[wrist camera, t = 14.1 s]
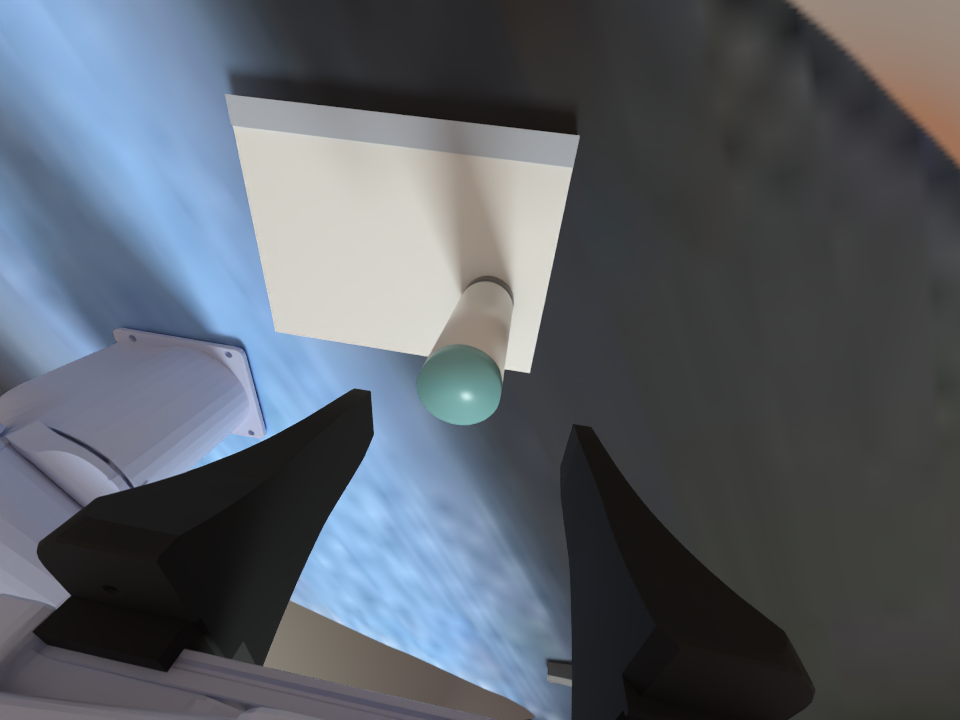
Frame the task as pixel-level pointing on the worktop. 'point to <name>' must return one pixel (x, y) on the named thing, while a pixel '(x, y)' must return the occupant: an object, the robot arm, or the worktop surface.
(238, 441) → the worktop surface
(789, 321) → the worktop surface
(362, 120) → the notepad
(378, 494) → the worktop surface
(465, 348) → the marker
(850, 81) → the worktop surface
